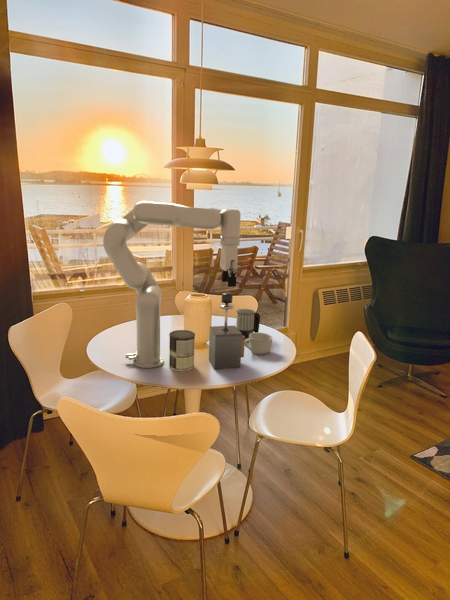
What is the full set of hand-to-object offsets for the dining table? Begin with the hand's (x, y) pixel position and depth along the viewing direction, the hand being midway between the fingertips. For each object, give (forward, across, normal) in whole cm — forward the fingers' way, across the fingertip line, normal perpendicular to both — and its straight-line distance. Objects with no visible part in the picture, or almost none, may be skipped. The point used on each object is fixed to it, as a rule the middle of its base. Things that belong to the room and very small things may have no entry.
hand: (228, 284), depth 174 cm
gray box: (+34, 0, 0) cm, 34 cm away
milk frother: (+35, -33, +16) cm, 51 cm away
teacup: (+35, -11, +17) cm, 40 cm away
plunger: (+22, 0, -1) cm, 22 cm away
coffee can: (+34, 0, -19) cm, 39 cm away
